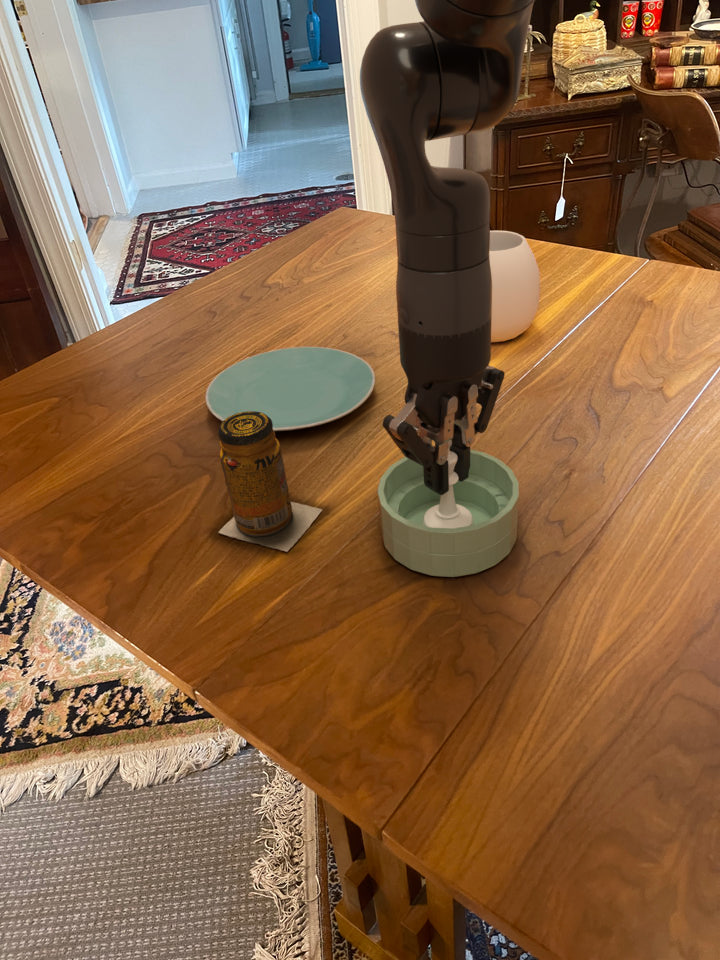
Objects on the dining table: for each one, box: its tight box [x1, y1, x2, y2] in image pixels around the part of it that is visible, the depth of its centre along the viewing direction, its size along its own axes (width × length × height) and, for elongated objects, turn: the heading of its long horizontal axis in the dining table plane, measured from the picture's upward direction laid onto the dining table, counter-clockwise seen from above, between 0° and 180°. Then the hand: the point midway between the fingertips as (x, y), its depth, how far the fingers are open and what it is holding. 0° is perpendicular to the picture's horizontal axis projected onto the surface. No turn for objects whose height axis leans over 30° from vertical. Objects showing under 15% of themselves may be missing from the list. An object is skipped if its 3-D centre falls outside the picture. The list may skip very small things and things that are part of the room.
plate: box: [204, 346, 376, 432], centre depth 96 cm, size 22×22×3 cm
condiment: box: [217, 411, 323, 553], centre depth 73 cm, size 7×8×12 cm
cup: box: [489, 230, 541, 343], centre depth 104 cm, size 13×13×14 cm
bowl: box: [376, 448, 520, 578], centre depth 71 cm, size 13×13×6 cm
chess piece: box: [423, 440, 473, 529], centre depth 69 cm, size 5×5×10 cm
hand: (447, 482), depth 69 cm, fingers closed on chess piece
